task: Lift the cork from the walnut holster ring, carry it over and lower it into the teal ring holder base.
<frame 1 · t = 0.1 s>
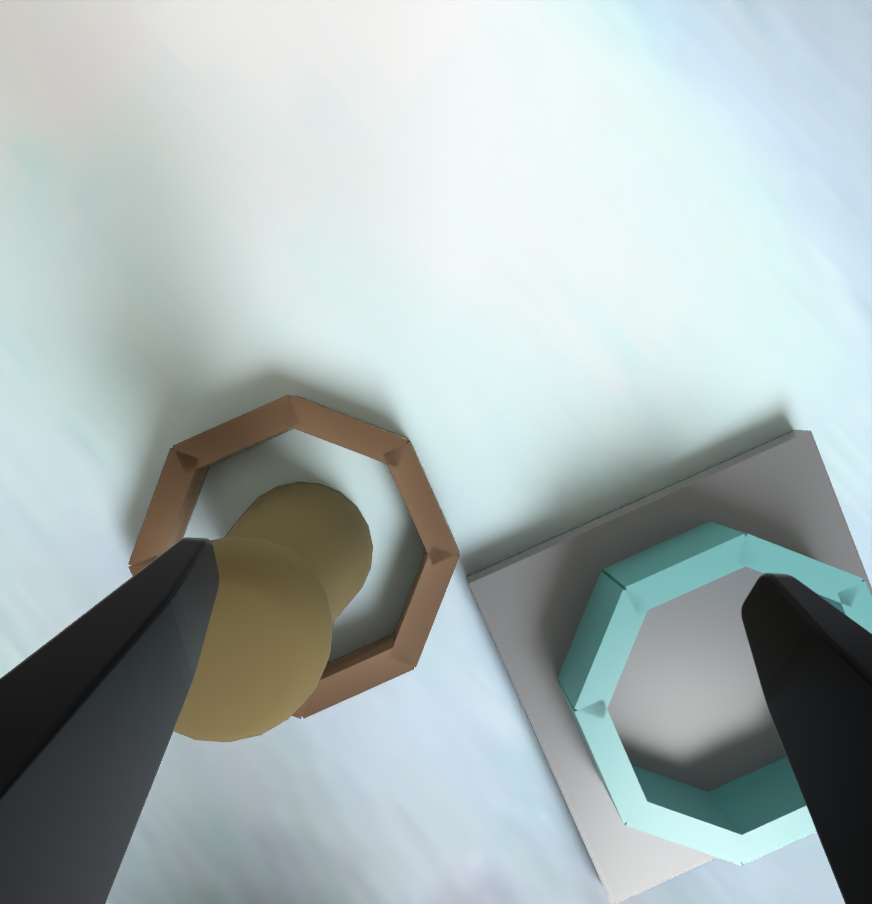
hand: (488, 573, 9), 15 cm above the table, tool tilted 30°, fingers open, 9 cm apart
teal ring holder base: (697, 662, 25), on the table
walnut holster ring: (303, 551, 24), on the table
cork: (304, 549, 24), resting in walnut holster ring
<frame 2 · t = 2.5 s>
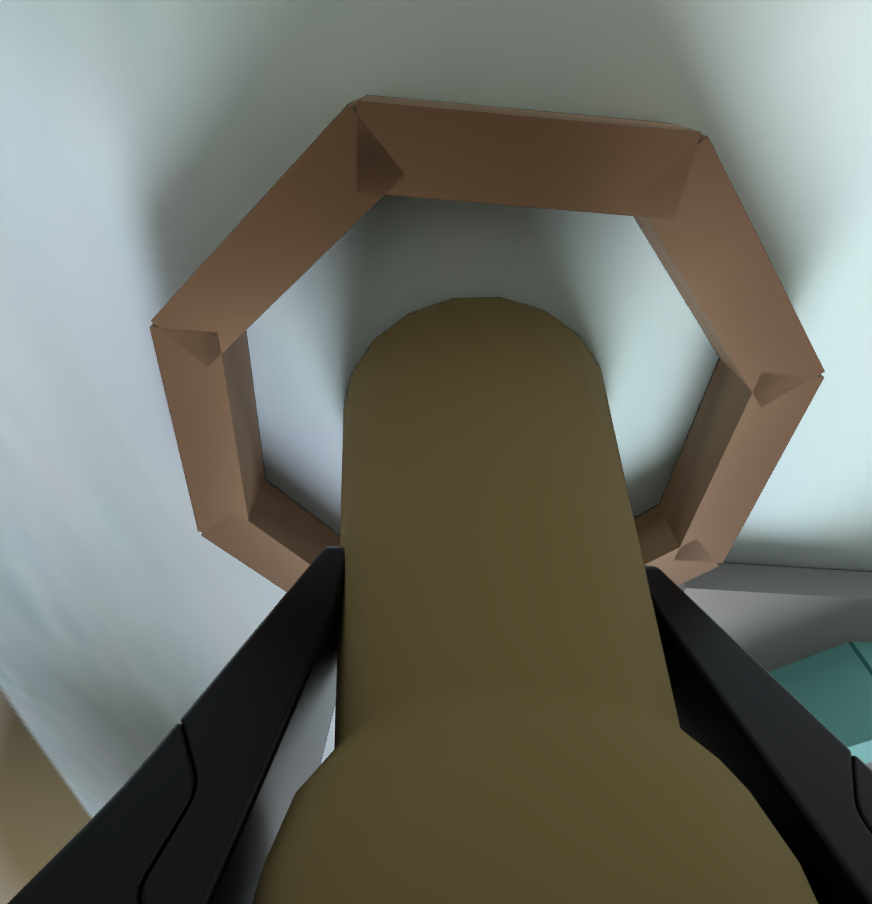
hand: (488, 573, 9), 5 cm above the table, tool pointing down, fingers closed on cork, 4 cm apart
teal ring holder base: (814, 724, 20), on the table
walnut holster ring: (474, 423, 13), on the table
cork: (474, 419, 13), resting in walnut holster ring, touching gripper
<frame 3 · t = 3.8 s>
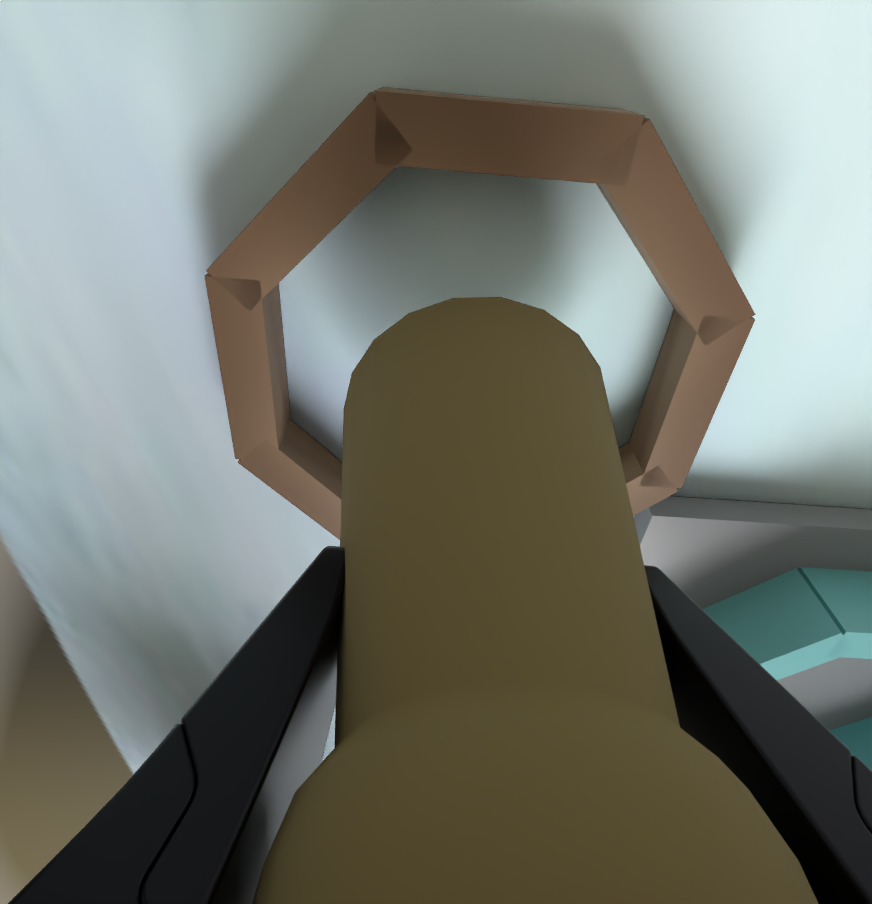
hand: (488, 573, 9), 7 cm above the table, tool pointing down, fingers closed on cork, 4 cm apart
teal ring holder base: (776, 656, 22), on the table
walnut holster ring: (469, 367, 15), on the table
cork: (474, 419, 13), point 3 cm above the table, touching gripper
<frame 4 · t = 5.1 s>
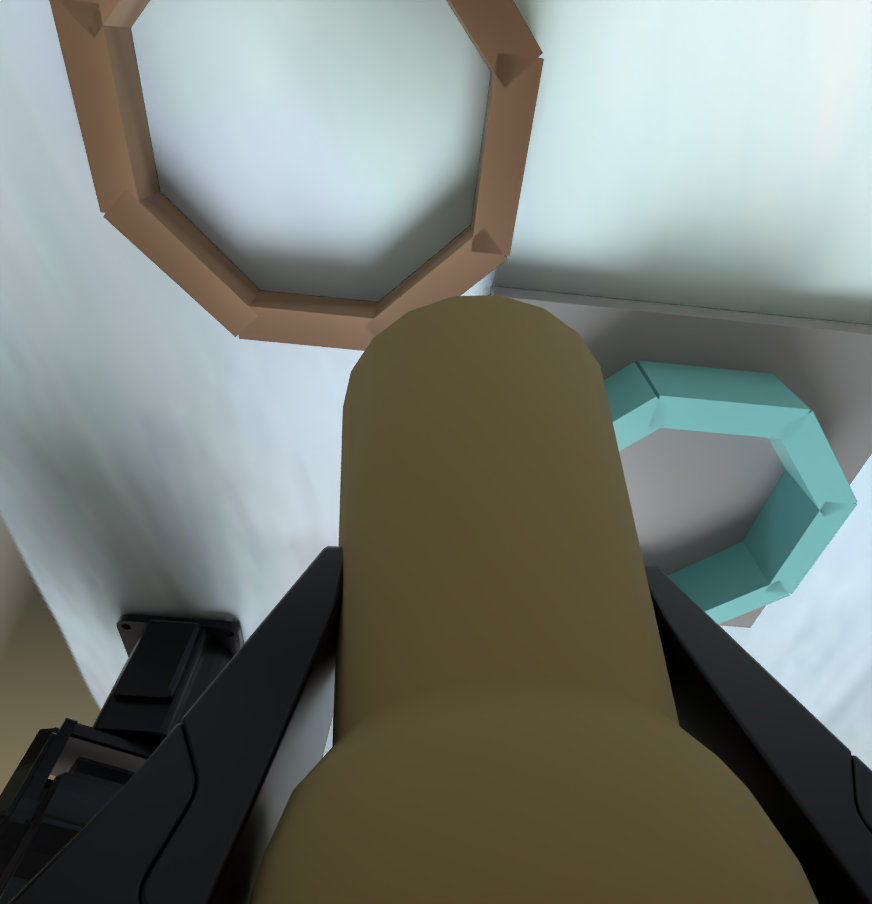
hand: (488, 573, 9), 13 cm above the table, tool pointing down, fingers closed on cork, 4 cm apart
teal ring holder base: (642, 482, 24), on the table
walnut holster ring: (315, 135, 17), on the table
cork: (473, 417, 13), point 8 cm above the table, touching gripper
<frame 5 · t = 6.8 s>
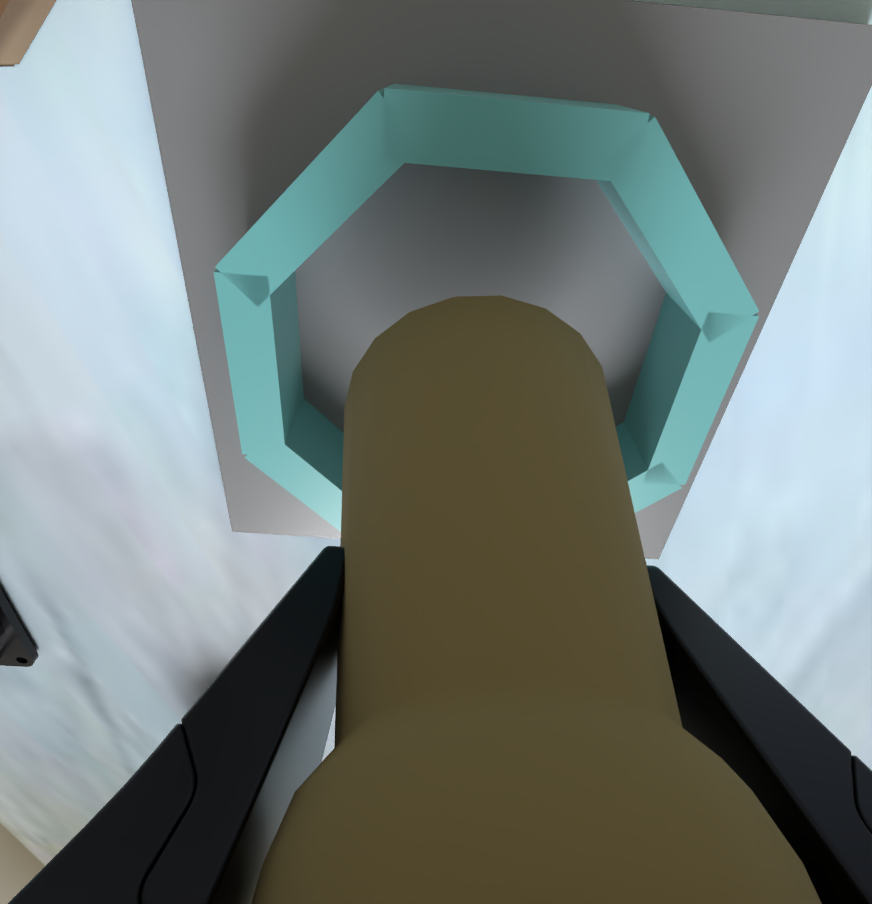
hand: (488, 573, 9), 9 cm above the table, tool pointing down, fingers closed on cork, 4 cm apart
teal ring holder base: (471, 334, 17), on the table
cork: (475, 418, 13), point 5 cm above the table, touching gripper
when the fingers open (7 cm above the table, at t = 8.1 s): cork drops 1 cm, resting on teal ring holder base.
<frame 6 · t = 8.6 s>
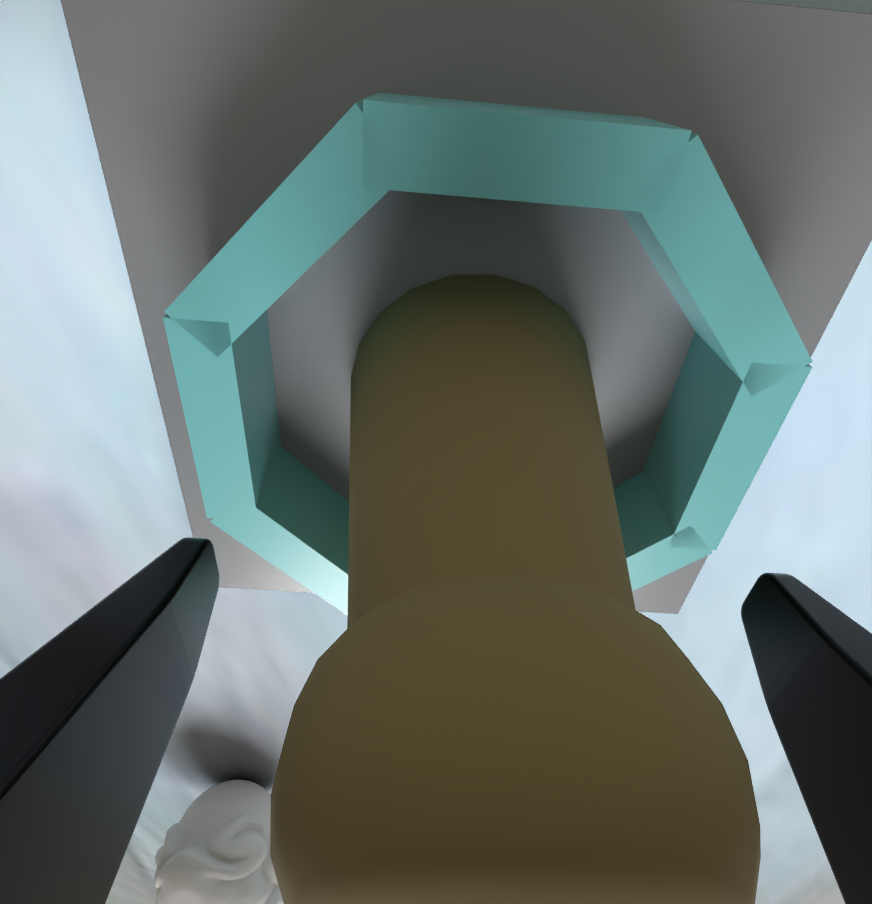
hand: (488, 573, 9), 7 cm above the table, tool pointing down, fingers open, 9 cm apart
frog figurine: (247, 782, 29), on the table
teal ring holder base: (471, 374, 15), on the table
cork: (470, 388, 14), point 1 cm above the table, touching teal ring holder base
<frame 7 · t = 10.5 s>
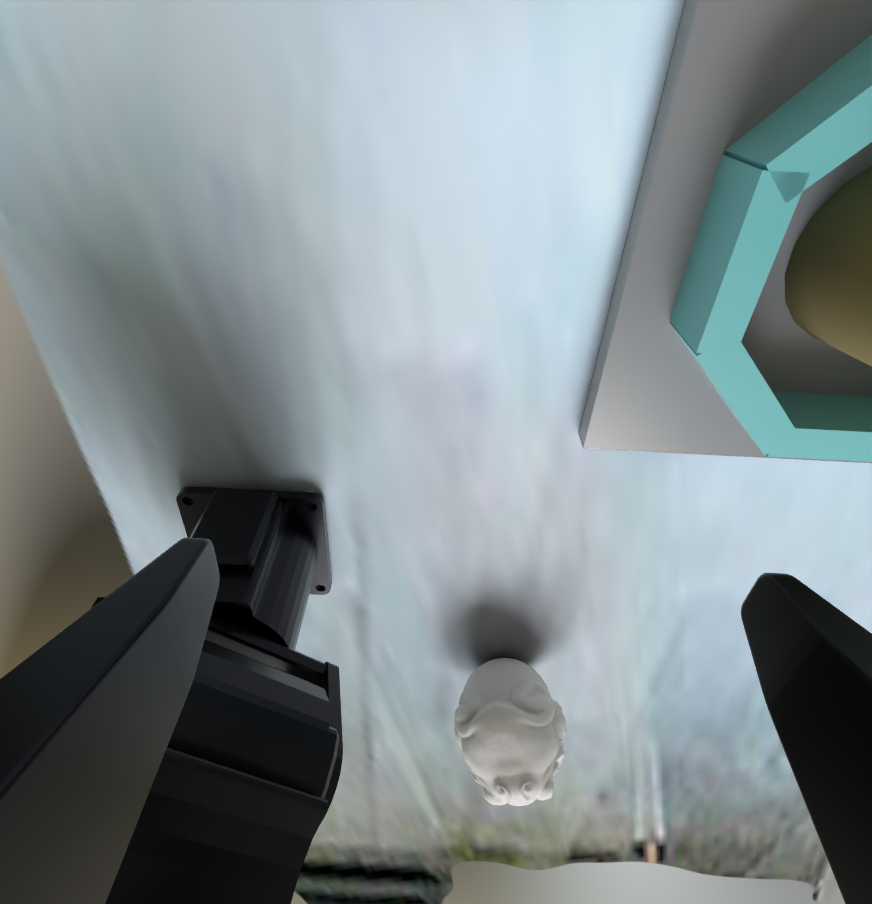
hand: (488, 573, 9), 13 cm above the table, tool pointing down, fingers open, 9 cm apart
frog figurine: (503, 664, 33), on the table
teal ring holder base: (869, 246, 18), on the table
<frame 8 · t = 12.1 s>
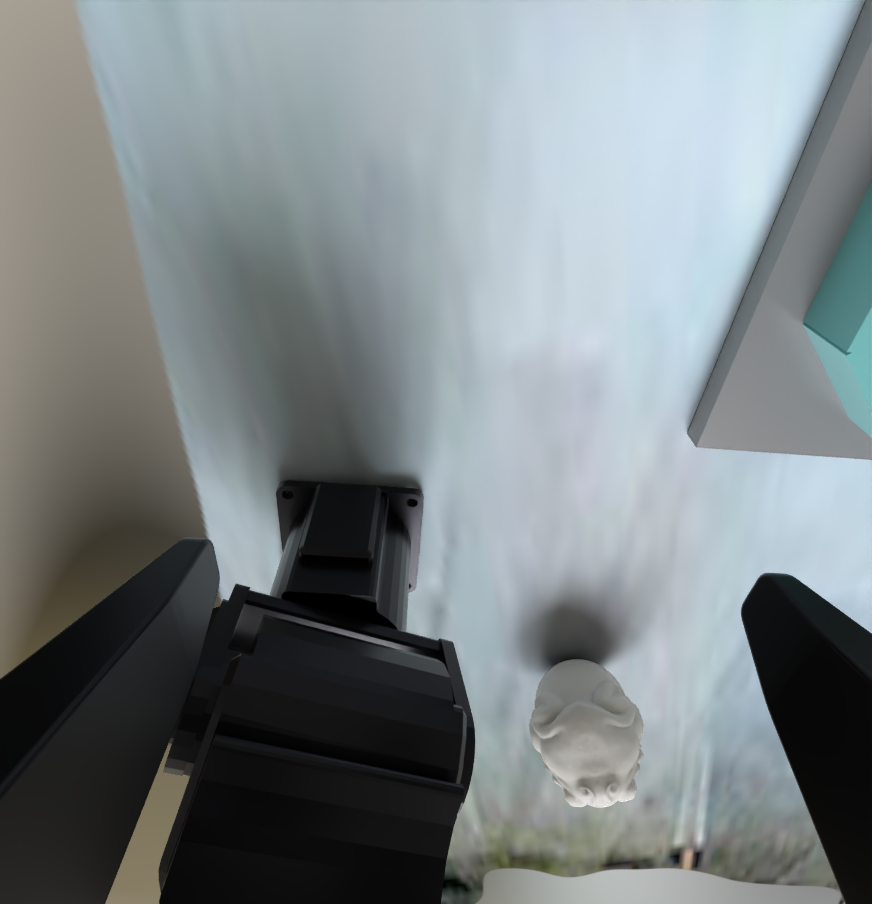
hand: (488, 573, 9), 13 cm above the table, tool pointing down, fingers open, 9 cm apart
frog figurine: (571, 666, 33), on the table
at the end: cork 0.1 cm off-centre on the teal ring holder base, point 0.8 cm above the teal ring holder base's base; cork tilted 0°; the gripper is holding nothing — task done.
